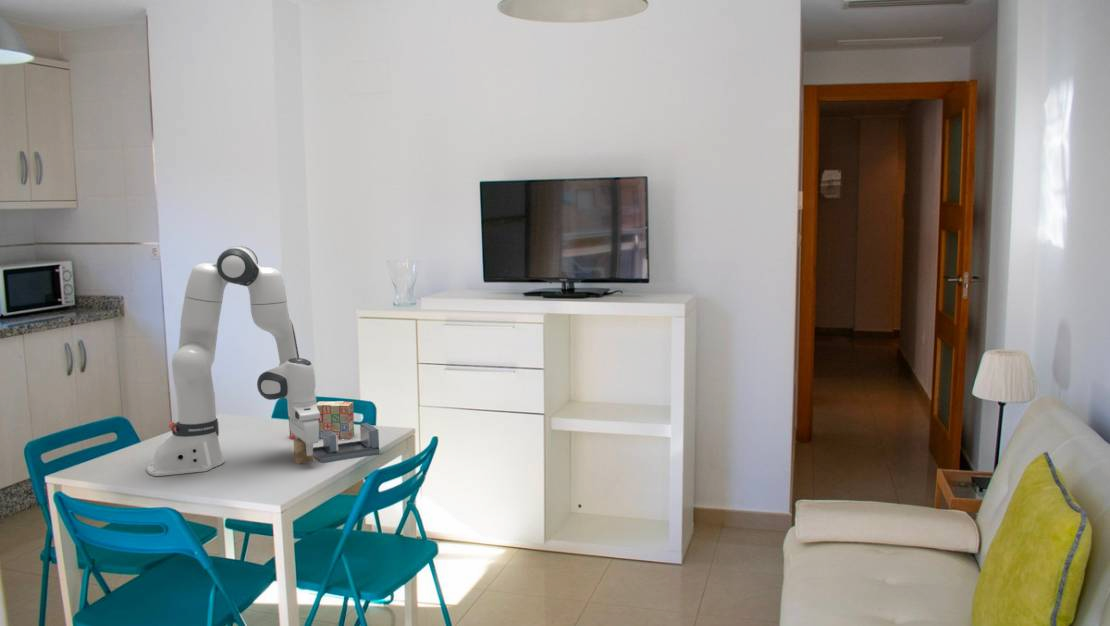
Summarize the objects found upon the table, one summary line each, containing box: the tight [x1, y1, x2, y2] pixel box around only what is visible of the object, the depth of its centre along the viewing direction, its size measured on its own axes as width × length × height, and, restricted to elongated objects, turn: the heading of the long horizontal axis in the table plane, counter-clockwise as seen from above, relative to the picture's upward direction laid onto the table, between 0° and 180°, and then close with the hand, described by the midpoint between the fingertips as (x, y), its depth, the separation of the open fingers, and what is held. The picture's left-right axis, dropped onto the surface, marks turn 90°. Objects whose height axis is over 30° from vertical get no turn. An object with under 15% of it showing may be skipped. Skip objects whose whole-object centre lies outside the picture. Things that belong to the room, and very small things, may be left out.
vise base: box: [313, 422, 380, 463], centre depth 296 cm, size 19×11×8 cm, turn 120°
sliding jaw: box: [322, 430, 339, 453], centre depth 293 cm, size 2×8×6 cm, turn 30°
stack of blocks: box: [288, 400, 355, 441], centre depth 318 cm, size 21×6×12 cm, turn 85°
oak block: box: [293, 438, 315, 464], centre depth 289 cm, size 5×4×7 cm
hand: (304, 451), depth 290 cm, fingers open, 8 cm apart
